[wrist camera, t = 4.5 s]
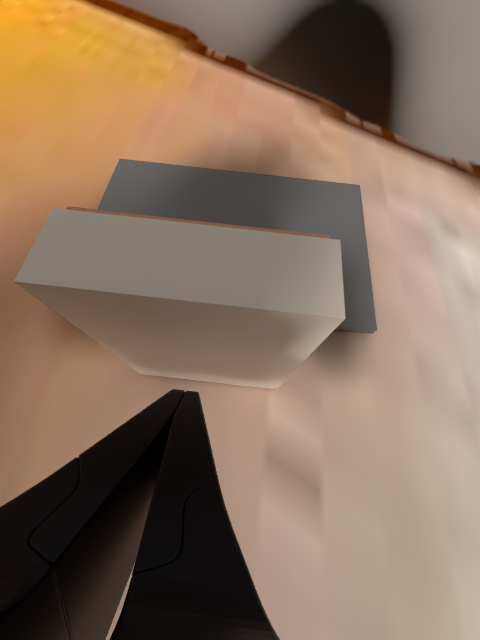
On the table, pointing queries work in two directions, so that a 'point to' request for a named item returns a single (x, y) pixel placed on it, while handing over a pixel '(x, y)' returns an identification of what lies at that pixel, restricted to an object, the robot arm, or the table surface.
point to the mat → (256, 213)
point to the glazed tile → (189, 292)
